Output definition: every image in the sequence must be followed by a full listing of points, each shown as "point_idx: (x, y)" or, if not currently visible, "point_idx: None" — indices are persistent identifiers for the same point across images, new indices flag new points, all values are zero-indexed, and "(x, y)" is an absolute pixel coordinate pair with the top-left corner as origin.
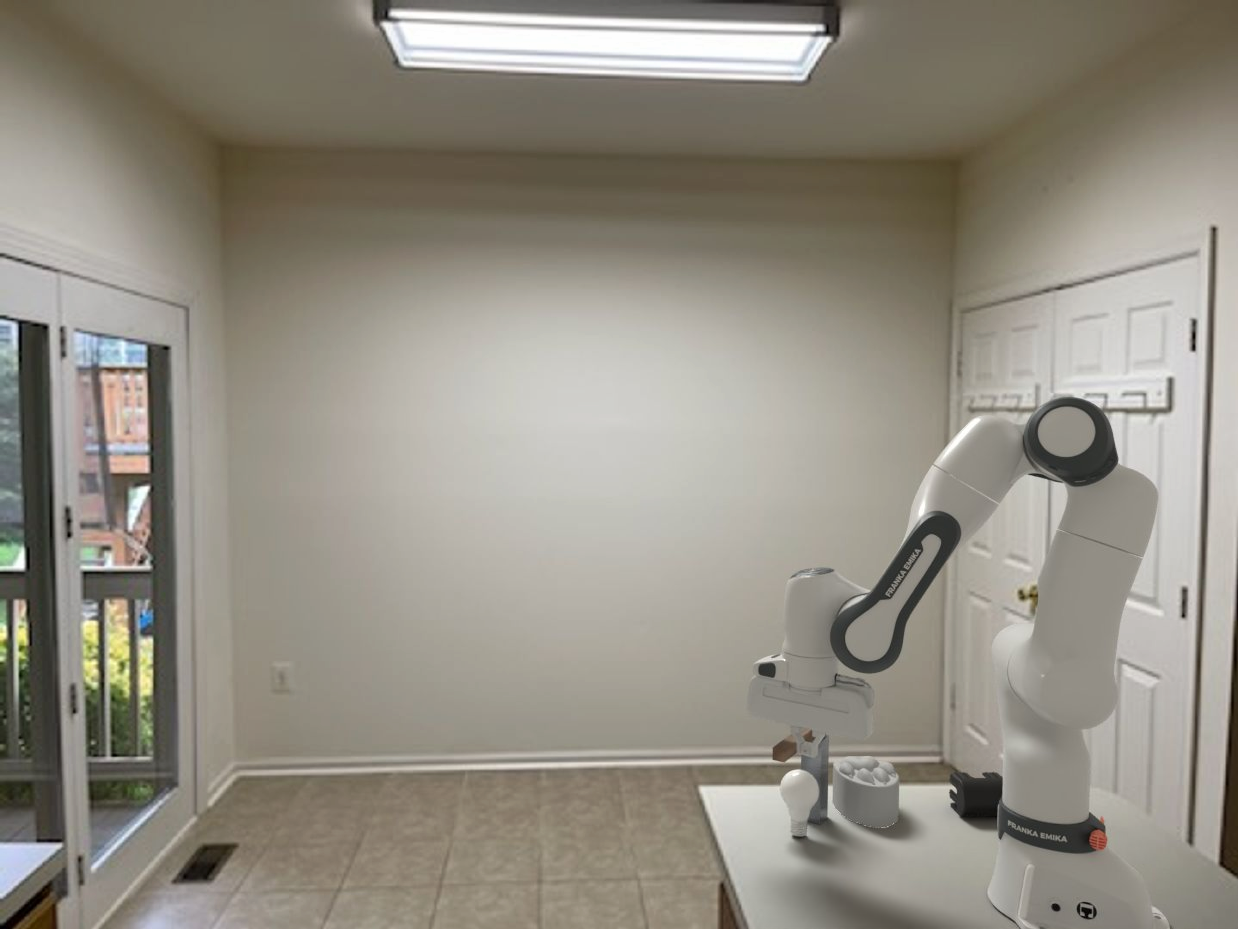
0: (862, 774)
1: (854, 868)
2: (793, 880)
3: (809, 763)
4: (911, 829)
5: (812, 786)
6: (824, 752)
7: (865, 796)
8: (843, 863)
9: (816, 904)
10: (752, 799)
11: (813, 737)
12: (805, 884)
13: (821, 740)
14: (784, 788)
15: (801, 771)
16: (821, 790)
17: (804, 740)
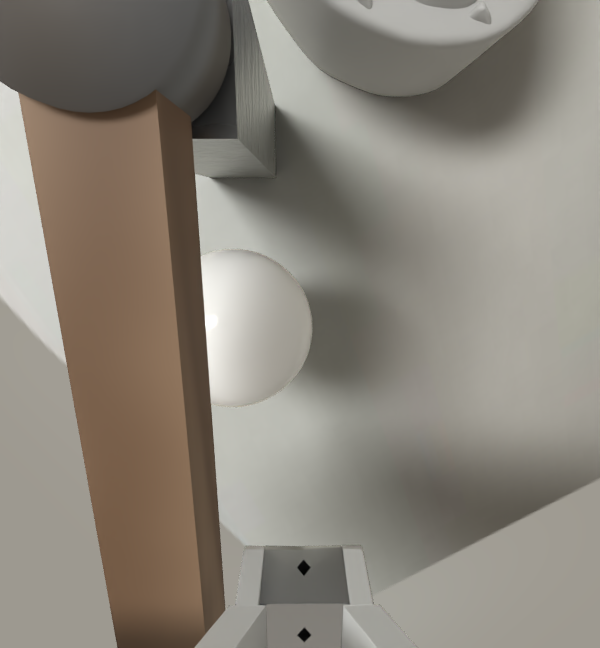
0: None
1: (433, 366)
2: (329, 484)
3: None
4: (542, 20)
5: (298, 364)
6: (248, 88)
7: (428, 63)
8: (403, 358)
9: (400, 534)
10: (13, 122)
11: (192, 224)
12: (357, 484)
13: (409, 640)
14: None
15: (229, 357)
16: (267, 158)
17: (262, 610)
